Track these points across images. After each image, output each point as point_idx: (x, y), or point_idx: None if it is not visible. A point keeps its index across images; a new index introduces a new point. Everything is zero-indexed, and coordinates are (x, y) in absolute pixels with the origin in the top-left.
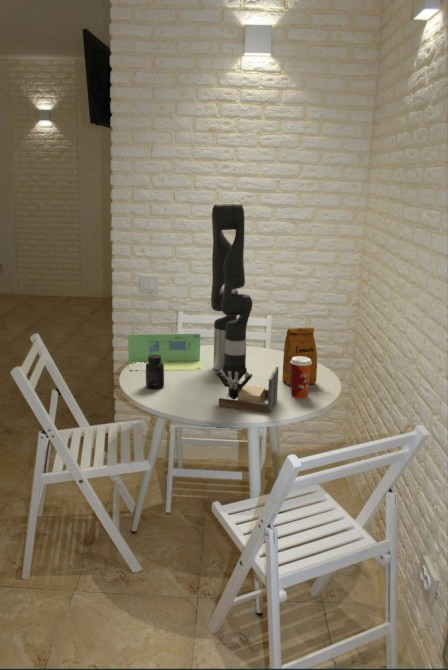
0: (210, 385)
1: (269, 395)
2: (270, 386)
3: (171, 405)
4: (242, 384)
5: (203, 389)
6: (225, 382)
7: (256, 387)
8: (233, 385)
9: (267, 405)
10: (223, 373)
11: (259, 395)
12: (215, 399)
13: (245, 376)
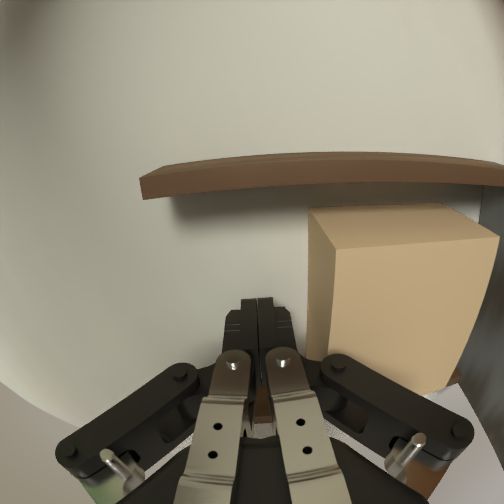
0: (15, 97)
1: (481, 414)
2: (502, 447)
3: (56, 396)
4: (351, 423)
5: (11, 184)
6: (186, 434)
7: (449, 262)
8: (251, 385)
9: (455, 380)
10: (135, 487)
11: (445, 382)
12: (139, 309)
13: (397, 471)
